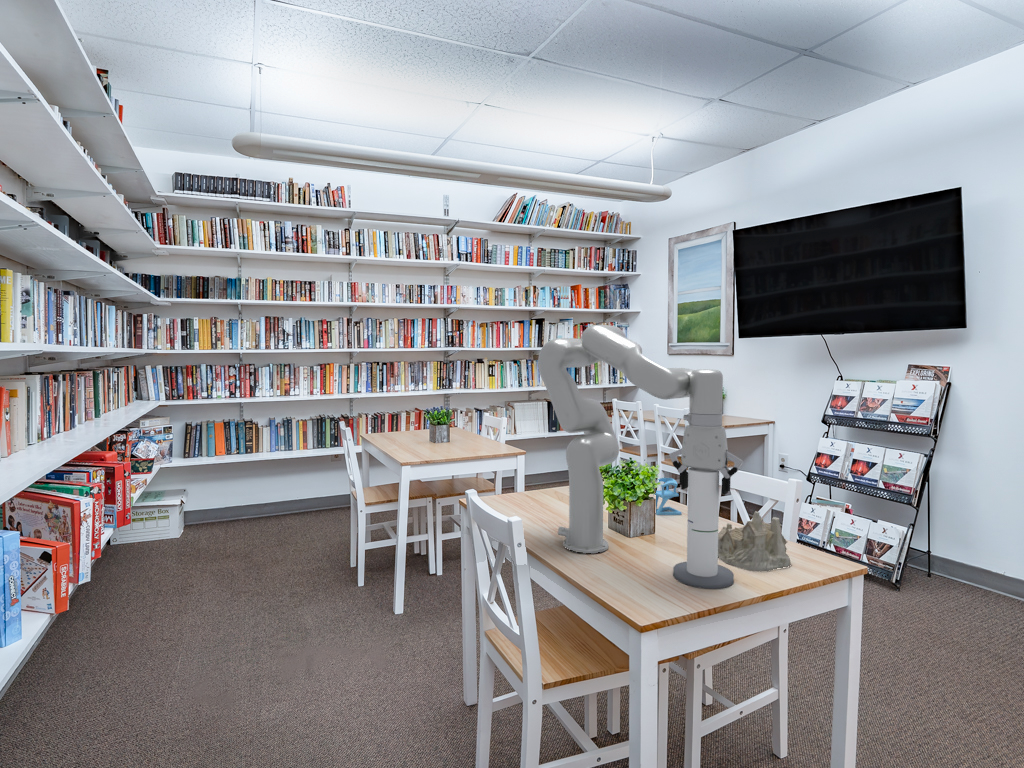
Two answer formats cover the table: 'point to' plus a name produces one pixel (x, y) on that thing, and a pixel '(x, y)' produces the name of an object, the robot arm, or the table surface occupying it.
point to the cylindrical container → (703, 522)
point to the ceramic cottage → (754, 545)
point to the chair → (666, 497)
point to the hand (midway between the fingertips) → (704, 491)
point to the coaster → (714, 582)
